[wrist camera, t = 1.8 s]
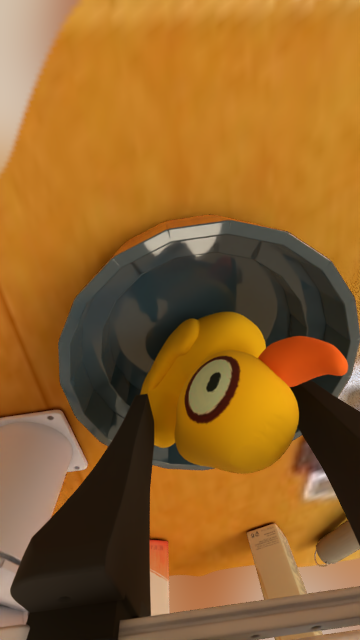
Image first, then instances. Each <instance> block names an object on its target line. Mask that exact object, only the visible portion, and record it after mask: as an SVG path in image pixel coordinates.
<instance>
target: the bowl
mask: <svg viewBox="0 0 360 640" xmlns="http://www.w3.org/2000/svg"><path fill="white" fill-rule="evenodd" d="M219 312H235V313H238V314H241V315H243V316H244V317H246V318H248V319H249V320H250V321H252V322H253V323H254V324H255V325H256V326H257V327H258V328H259V330H260V331H261V333H262V335H263V337H264V340H265V345H266V348H267V347H268V346H269V345H270V344H272V343H274V342H276V341H279V340H282V339H286V338H289V337H293V336H306V337H311V338H315V339H319V340H322V341H324V342H327V343H330V344H332V345H334V346H335V347H336V348H337V349H338V350H339V351H340V352H341V353H342V354H343V356H344V357H345V358H346V360H347V363H348V370H347V373H346V374H345V375H342V376H335V375H330V374H327V375H322V376H318V377H316V378H313V379H311V380H312V381H313V382H315V383H316V384H318V385H319V386H320V387H322V388H323V389H325V390H326V391H328V392H329V393H331V394H332V395H334V396H335V397H337V398H338V397H339V395H340V393H341V392H342V390H343V389H344V387H345V385H346V384H347V382H348V381H349V379H350V377H351V375H352V371H353V367H354V363H355V359H356V355H357V351H358V347H359V343H360V330H359V323H358V316H357V308H356V301H355V299H354V296H353V294H352V293H351V291H350V290H349V288H348V286H347V285H346V283H345V282H344V280H343V278H342V277H341V275H340V274H339V272H338V271H337V269H336V267H335V266H334V264H333V263H332V261H331V260H330V259H328V258H327V257H325V256H324V255H322V254H321V253H319V252H318V251H316V250H315V249H313V248H312V247H310V246H309V245H307V244H306V243H304V242H303V241H301V240H300V239H298V238H297V237H295V236H294V235H292V234H291V233H289V232H287V231H284V230H279V229H275V228H271V227H267V226H263V225H259V224H255V223H251V222H246V221H241V220H236V219H231V218H226V217H222V216H217V215H210V214H209V215H203V216H196V217H189V218H182V219H175V220H168V221H165V222H163V223H161V224H159V225H157V226H155V227H153V228H151V229H149V230H147V231H145V232H143V233H141V234H140V235H138V236H136V237H134V238H132V239H130V240H128V241H127V242H125V243H124V244H123V245H122V246H121V247H120V249H119V250H118V251H117V252H116V253H115V254H114V255H113V256H112V257H111V258H110V259H109V260H108V262H107V263H106V264H105V265H104V266H103V267H102V268H101V269H100V270H99V271H98V272H97V273H96V275H95V276H94V277H93V278H92V279H91V280H90V281H89V282H88V284H87V285H86V286H85V287H84V288H83V289H82V290H81V291H80V293H79V294H78V295H77V296H76V298H75V299H74V302H73V304H72V307H71V310H70V312H69V315H68V317H67V320H66V323H65V325H64V328H63V330H62V333H61V336H60V338H59V342H58V349H59V376H60V384H61V387H62V389H63V391H64V393H65V395H66V397H67V400H68V402H69V404H70V406H71V408H72V410H73V413H74V415H75V416H76V418H77V419H78V420H79V421H80V422H81V423H82V424H83V425H84V426H85V427H86V428H87V429H88V430H89V431H90V432H91V433H92V434H93V435H94V436H95V437H96V438H97V439H98V440H99V441H100V442H101V443H103V444H105V445H106V446H108V447H109V445H110V443H111V442H112V440H113V438H114V437H115V435H116V433H117V432H118V430H119V428H120V426H121V424H122V422H123V420H124V418H125V417H126V414H127V412H128V410H129V408H130V406H131V404H132V402H133V399H134V397H135V396H136V395H140V393H141V389H142V385H143V382H144V380H145V378H146V376H147V374H148V373H149V371H150V370H151V368H152V365H153V363H154V361H155V359H156V357H157V355H158V353H159V351H160V350H161V348H162V347H163V345H164V343H165V342H166V340H167V339H168V337H169V336H170V335H171V334H172V333H173V331H174V330H175V329H176V328H177V327H178V326H179V325H180V324H181V323H182V322H184V321H185V320H187V319H191V318H193V319H197V320H198V319H200V318H202V317H205V316H207V315H211V314H214V313H219ZM300 436H302V433H301V432H300V430H299V428H298V427H297V429H296V432H295V435H294V438H293V440H295V439H296V438H298V437H300ZM293 440H292V441H293ZM152 465H154V466H158V467H162V468H167V469H185V470H208V469H215V468H212V467H208V466H200V465H196V464H193V463H191V462H189V461H187V460H185V459H184V458H183V457H182V456H181V455H180V454H179V452H178V450H177V447H176V443H174V444H173V445H171V446H169V447H166V448H161V447H158V446H155V445H154V451H153V462H152Z"/></svg>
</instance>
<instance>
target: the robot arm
mask: <svg viewBox="0 0 360 640" xmlns="http://www.w3.org/2000/svg"><path fill="white" fill-rule="evenodd" d="M290 389H291V390H292V392H293V394H294V396H295V398H296V401H297V404H298V409H299V421H298V426H297V427H298V428H299V430H300V432H301V433H302V435H303V437H304V438H305V440H306V441H307V443H308V445H309V446H310V448H311V450H312V451H313V453H314V454H315V456H316V458H317V459H318V461H319V463H320V464H321V466H322V468H323V470H324V471H325V473H326V475H327V477H328V479H329V481H330V483H331V485H332V487H333V489H334V491H335V493H336V496H337V498H338V500H339V502H340V504H341V506H342V508H343V510H344V512H345V514H346V517H347V519H348V521H349V523H350V525H351V528H352V530H353V532H354V534H355V537H356V539H357V541H358V543H359V546H360V412H359V411H358V410H356V409H354V408H353V407H351V406H349V405H348V404H346V403H345V402H343V401H341V400H340V399H338V398H337V397H335V396H334V395H332V394H331V393H329V392H328V391H326V390H325V389H323V388H322V387H320V386H319V385H318V384H316V383H315V382H313V381H312V380H308V381H306V382H304V383H301V384H299V385H297V386H294V387H290ZM153 451H154V418H153V414H152V410H151V406H150V402H149V398H148V394H141V395H136V396H135V397H134V399H133V402H132V404H131V406H130V408H129V410H128V412H127V414H126V417H125V418H124V420H123V422H122V424H121V426H120V428H119V430H118V432H117V433H116V435H115V437H114V438H113V440H112V442H111V443H110V445H109V447H108V448H107V450H106V451H105V453H104V454H103V456H102V457H101V459H100V460H99V462H98V463H97V464H96V466H95V467H94V468H93V470H92V471H91V472H90V474H89V475H88V476H87V478H86V479H85V480H84V481H83V483H82V484H81V485H80V486H79V488H78V489H77V490H76V491H75V492H74V493H73V495H72V496H71V497H70V498H69V499H68V500H67V501H66V502H65V504H64V505H63V506H62V507H61V508H60V509H59V510H58V511H57V512H56V513H55V514H54V515H53V517H52V518H51V516H52V513H53V510H54V507H55V504H56V502H57V499H58V496H59V493H60V490H61V487H62V484H63V481H64V479H65V476H66V473H67V472H72V471H78V470H84V469H86V468H87V466H88V462H87V460H86V458H85V456H84V454H83V452H82V450H81V448H80V446H79V444H78V442H77V440H76V438H75V436H74V434H73V432H72V429H71V427H70V425H69V423H68V421H67V419H66V417H65V415H64V413H63V412H62V411H61V410H51V411H44V412H37V413H30V414H23V415H16V416H10V417H3V418H0V640H258V639H265V638H272V637H279V636H286V635H293V634H300V633H307V632H314V631H321V630H328V629H335V628H342V627H349V626H356V625H360V586H359V587H351V588H344V589H337V590H330V591H323V592H317V593H309V594H302V595H295V596H288V597H281V598H274V599H267V600H261V601H253V602H246V603H239V604H232V605H225V606H218V607H211V608H204V609H197V610H190V611H183V612H176V613H169V614H162V615H155V616H151V597H150V483H151V473H152V462H153ZM291 640H360V630H353V631H347V632H340V633H332V634H325V635H318V636H311V637H304V638H297V639H291Z"/></svg>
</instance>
